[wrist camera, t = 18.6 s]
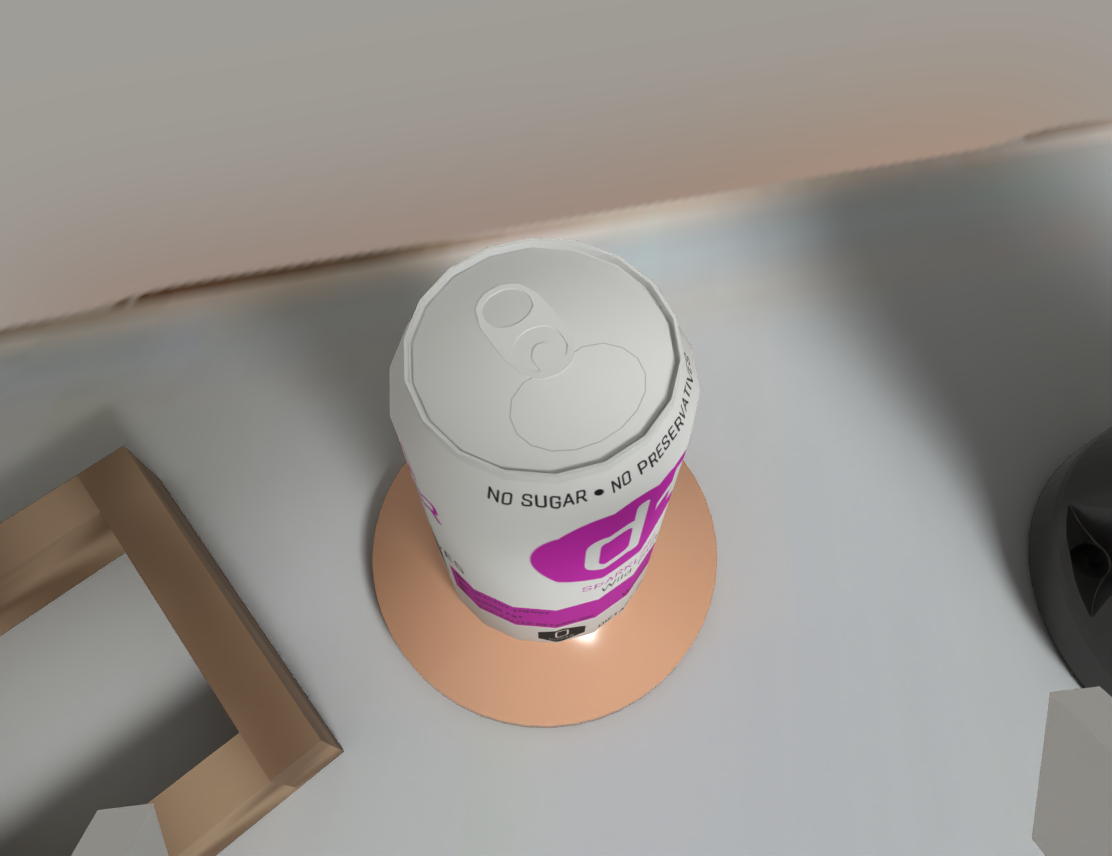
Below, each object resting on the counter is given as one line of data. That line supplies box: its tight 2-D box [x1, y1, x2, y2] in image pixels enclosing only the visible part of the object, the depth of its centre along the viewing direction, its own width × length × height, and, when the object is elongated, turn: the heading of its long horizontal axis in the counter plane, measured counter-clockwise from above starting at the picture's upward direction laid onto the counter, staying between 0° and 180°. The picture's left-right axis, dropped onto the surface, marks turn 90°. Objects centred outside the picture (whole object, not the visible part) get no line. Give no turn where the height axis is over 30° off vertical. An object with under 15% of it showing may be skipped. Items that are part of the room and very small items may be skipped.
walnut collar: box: [0, 446, 344, 856], centre depth 31 cm, size 14×14×4 cm
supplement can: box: [389, 238, 700, 643], centre depth 28 cm, size 8×8×15 cm
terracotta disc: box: [373, 461, 717, 728], centre depth 35 cm, size 14×14×1 cm
